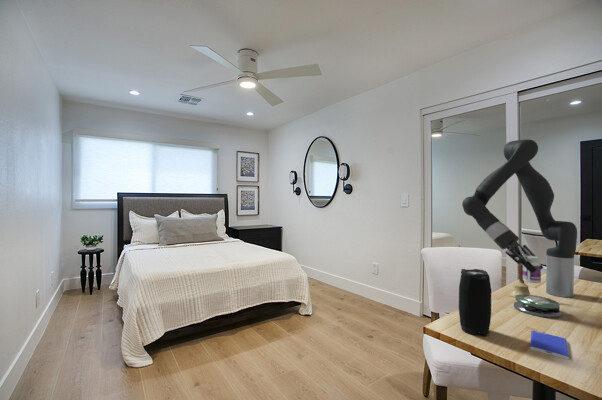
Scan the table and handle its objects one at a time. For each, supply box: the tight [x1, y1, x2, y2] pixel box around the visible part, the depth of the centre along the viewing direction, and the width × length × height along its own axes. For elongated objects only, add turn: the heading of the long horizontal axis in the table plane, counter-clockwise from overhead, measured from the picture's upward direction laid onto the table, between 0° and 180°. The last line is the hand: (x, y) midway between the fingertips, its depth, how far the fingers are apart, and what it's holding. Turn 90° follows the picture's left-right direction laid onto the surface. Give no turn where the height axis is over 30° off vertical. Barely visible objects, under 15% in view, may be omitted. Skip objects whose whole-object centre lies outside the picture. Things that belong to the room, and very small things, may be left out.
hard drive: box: [529, 330, 570, 360], centre depth 82 cm, size 2×8×12 cm
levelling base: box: [513, 294, 562, 319], centre depth 108 cm, size 14×14×4 cm
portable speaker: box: [458, 268, 492, 337], centre depth 91 cm, size 9×9×20 cm
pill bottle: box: [523, 255, 542, 284], centre depth 107 cm, size 5×5×10 cm
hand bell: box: [509, 263, 532, 299], centre depth 123 cm, size 8×8×16 cm
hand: (537, 270), depth 105 cm, fingers closed on pill bottle, 5 cm apart
